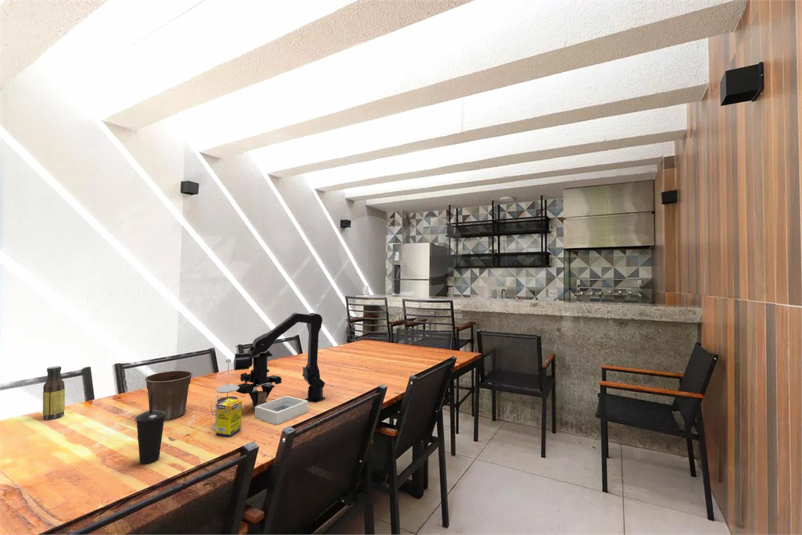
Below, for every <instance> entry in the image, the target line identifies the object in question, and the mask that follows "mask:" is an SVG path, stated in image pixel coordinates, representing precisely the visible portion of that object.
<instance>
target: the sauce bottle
mask: <svg viewBox="0 0 802 535" xmlns="http://www.w3.org/2000/svg"><path fill="white" fill-rule="evenodd" d="M61 370H62V366H61V365H56V366H48V367H47V368H46V373H47V377H46V378H47V379H46V381H45V383H44V385H43V392H42V415H43V417H42V418H43V420H44V421H51V420H57V419H60V418H61V417H63V416H64V415H65V408H66V401H65V400H66V397H65V396H66V390H65V382H64V380H63V379H62V376H61Z"/></svg>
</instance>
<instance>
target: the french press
mask: <svg viewBox="0 0 802 535" xmlns="http://www.w3.org/2000/svg"><path fill="white" fill-rule="evenodd" d="M231 362H232V359H231V358H227V359H225V363H227V374H229V370H230V369H229V368H230V365H229V364H230V363H231ZM238 389H239V386H238V384H232V383H226V384H223V385H221V386H218V387H217V388H216V389H215V392H217V393H219V394H227V396H224V397H223V396H222V395H215V397H213V400H212V402H211V404H210V411H211V414H212V415H213V416H215V421H214V422H215V423H214V425H213V426H212V430H214V431H216V424H217V404H219V403H221V402H223V401H225V400H227V399H236V400H239V397H238V396H233V395H232V396H229V393H233V392H236V390H238ZM216 398H217V399H216ZM215 399H216V401H215ZM214 401H215V403H214ZM213 403H214V407H215V410H214V412H213Z"/></svg>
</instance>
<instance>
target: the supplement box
mask: <svg viewBox="0 0 802 535" xmlns="http://www.w3.org/2000/svg"><path fill="white" fill-rule="evenodd" d="M242 403H243V400H241V399H237V400H236V399H227V400H225V401H223V402H221V403H219V404H217V403H216V404H217V424H216V430H215V434H216V435H217V436H223V437H229V438H230V437H232V436H233V435H235V434H236V433H237V432H239V431H241V428H242V427H241V425H242V409H243V408H242V407H243V404H242Z"/></svg>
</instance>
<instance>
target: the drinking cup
mask: <svg viewBox="0 0 802 535" xmlns="http://www.w3.org/2000/svg"><path fill="white" fill-rule="evenodd" d="M165 415H166V412H165V411H161V410H153V394H150V410H146V411H144V412H142V413H140V414H137V415H135V417H134V418H135V421H136V432H137V444H138V446H137V447H138V454H139V455H138V456H139V464H140V465H149V464H150V465H151V464H152V462H153V463H156V462H157V461H158V460H159V459H160V456H161V455H160V453H161V448H162V447H161V446H162V439H163V434H164V433H163V431H164V424H165V421H164V418H165Z"/></svg>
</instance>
